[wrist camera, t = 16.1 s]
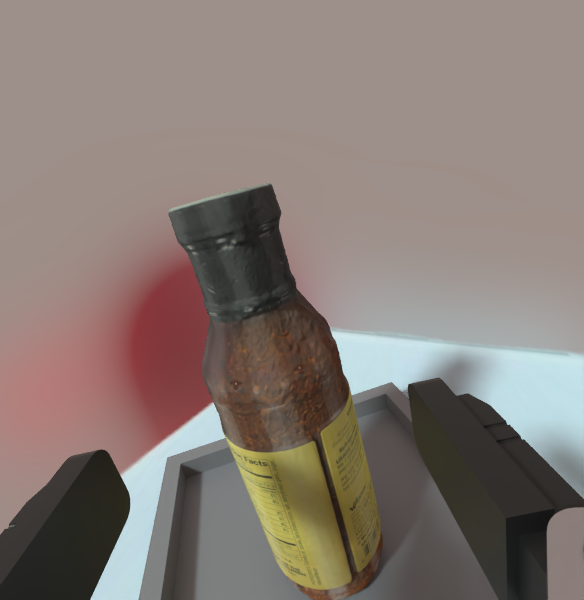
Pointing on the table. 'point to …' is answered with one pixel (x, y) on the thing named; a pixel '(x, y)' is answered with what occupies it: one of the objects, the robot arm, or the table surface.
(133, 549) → the table surface
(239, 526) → the serving tray
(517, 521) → the robot arm
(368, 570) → the sauce bottle
